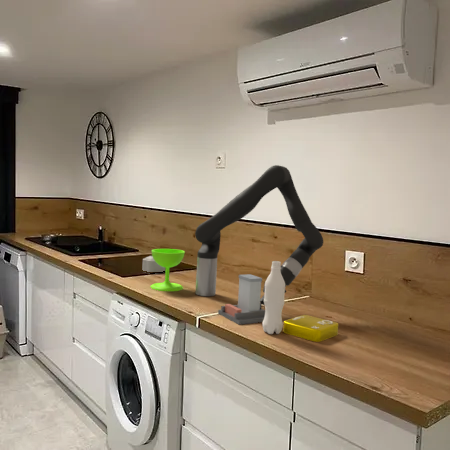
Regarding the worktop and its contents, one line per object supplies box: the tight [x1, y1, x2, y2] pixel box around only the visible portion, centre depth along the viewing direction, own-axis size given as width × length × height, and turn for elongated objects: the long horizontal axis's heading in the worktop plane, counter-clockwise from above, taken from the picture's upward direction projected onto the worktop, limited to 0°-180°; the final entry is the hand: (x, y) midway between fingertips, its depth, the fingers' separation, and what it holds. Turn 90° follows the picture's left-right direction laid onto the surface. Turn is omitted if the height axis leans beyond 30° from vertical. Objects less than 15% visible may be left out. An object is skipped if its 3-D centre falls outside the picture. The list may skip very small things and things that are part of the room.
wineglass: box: [149, 248, 186, 292], centre depth 230 cm, size 16×16×18 cm
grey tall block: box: [237, 273, 263, 312], centre depth 185 cm, size 8×5×14 cm, turn 29°
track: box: [217, 303, 265, 326], centre depth 185 cm, size 16×18×4 cm
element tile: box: [282, 314, 339, 343], centre depth 168 cm, size 15×15×5 cm
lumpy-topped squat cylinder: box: [141, 255, 166, 273], centre depth 273 cm, size 10×13×9 cm
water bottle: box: [261, 260, 286, 335], centre depth 166 cm, size 7×7×25 cm
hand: (261, 303), depth 188 cm, fingers closed
